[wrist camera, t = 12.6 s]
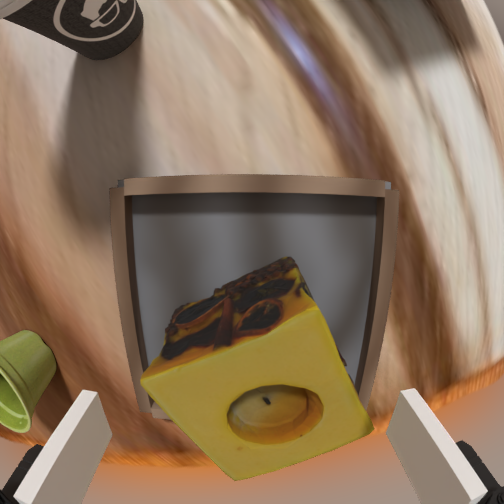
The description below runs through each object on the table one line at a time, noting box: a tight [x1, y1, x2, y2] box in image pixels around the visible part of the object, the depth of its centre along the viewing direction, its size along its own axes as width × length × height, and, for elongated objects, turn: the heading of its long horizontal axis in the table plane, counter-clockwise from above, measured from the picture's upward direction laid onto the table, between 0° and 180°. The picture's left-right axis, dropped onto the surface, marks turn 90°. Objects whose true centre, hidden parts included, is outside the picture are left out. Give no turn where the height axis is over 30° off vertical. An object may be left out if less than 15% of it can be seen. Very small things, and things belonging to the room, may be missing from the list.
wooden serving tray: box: [110, 174, 399, 420], centre depth 23 cm, size 21×21×2 cm
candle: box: [140, 256, 374, 481], centre depth 19 cm, size 10×10×10 cm
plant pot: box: [0, 330, 56, 433], centre depth 22 cm, size 9×9×9 cm
